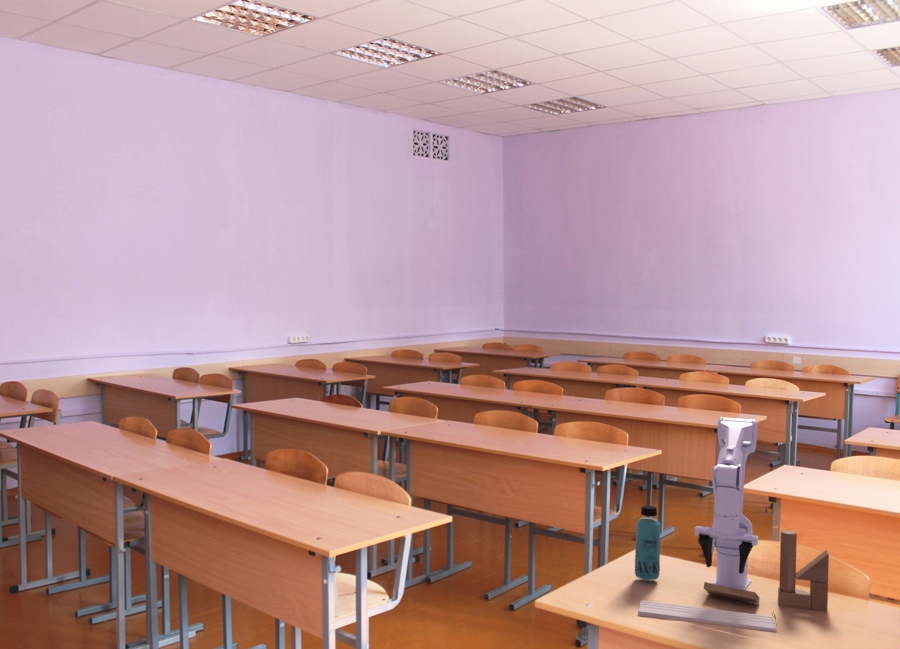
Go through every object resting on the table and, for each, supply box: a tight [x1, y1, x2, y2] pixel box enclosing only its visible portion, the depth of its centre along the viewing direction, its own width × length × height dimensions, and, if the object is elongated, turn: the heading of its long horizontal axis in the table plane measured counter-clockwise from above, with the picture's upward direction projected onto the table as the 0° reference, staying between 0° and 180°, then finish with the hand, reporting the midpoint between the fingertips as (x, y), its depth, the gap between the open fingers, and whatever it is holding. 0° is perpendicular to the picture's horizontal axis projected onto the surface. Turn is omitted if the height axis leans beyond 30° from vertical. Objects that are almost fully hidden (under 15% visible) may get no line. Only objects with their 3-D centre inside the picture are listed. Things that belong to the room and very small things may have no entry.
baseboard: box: [638, 599, 778, 633], centre depth 184 cm, size 30×3×10 cm
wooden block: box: [777, 529, 830, 613], centre depth 189 cm, size 4×11×18 cm, turn 71°
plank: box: [703, 581, 760, 605], centre depth 192 cm, size 6×12×2 cm
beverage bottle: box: [633, 504, 662, 581], centre depth 205 cm, size 6×7×20 cm
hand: (725, 569), depth 190 cm, fingers open, 7 cm apart
